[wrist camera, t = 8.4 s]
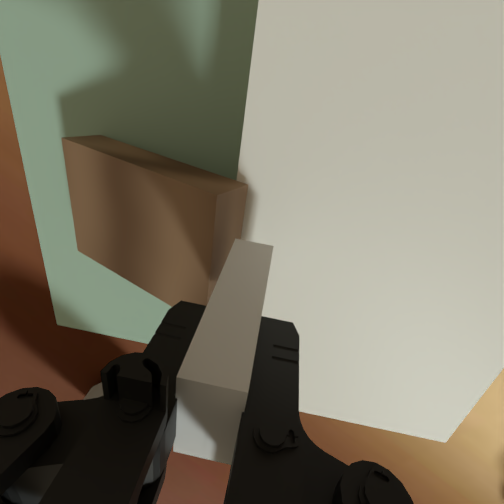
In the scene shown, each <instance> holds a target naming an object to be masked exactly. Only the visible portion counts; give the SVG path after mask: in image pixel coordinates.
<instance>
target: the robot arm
mask: <svg viewBox="0 0 504 504" xmlns="http://www.w3.org/2000/svg"><path fill="white" fill-rule="evenodd" d="M273 247H274V246H272V245H266V244H261V243H256V242H251V241H246V240H241V239H236V238H235V241H234V243H233V245H232V248H231V250H230V253H229V255H228V257H227V260H226V262H225V264H224V267H223V269H222V271H221V274H220V276H219V278H218V281H217V283H216V285H215V288H214V290H213V292H212V295H211V297H210V299H209V302H208V304H207V306H205V305H201V304H196V303H191V302H186V301H180V302H178V303H177V304H176V305H174V306H173V307H171V308H170V309H169V310H168V311H167V313H166V315H165V316H164V318H163V320H162V321H161V324H160V325H159V327H158V328H157V330H156V332H155V335H153V337H152V338H151V340H150V342H149V344H148V345H147V347H146V349H145V350H144V352H143V353H136V352H135V353H131V354H126V355H122V356H120V357H118V358H116V359H115V360H113V361H111V362H109V363H108V364H107V365H106V366H105V367H104V368H103V369H102V370H101V371H100V373H101V380H102V388H103V396H101V397H98V398H92V399H86V400H74V401H63V402H57V400H56V397H55V396H54V395H53V394H52V393H51V392H50V391H49V390H46V389H42V388H39V387H33V388H22V389H19V390H16V391H13V392H11V393H8V394H6V395H4V396H3V397H1V398H0V504H156V502H157V499H158V497H159V494H160V491H161V488H162V485H163V482H164V479H165V473H166V465H167V460H168V457H169V454H170V451H171V449H172V446H173V443H174V447H173V451H174V452H179V453H183V454H187V455H191V456H196V457H200V458H204V459H209V460H213V461H217V462H221V463H226V464H230V465H231V469H230V475H229V480H228V485H227V490H226V495H225V499H224V504H414V503H413V501H412V499H411V497H410V495H409V494H408V492H407V491H406V489H405V487H404V486H403V484H402V483H401V482H400V481H399V480H398V479H397V478H396V477H395V476H394V475H393V474H392V473H391V472H390V471H389V470H388V469H386V468H384V467H382V466H381V465H379V464H377V463H375V462H369V461H364V460H362V461H358V462H355V463H351V465H350V466H348V465H346V464H344V463H343V462H341V461H339V460H338V459H336V458H334V457H333V456H331V455H329V454H327V453H326V452H324V451H323V450H322V449H320V448H319V447H317V446H316V445H315V444H314V443H313V442H312V441H311V440H310V438H309V437H308V436H307V434H306V433H305V431H304V429H303V427H302V424H301V422H300V417H299V334H298V332H297V330H296V328H295V326H294V324H293V322H288V321H283V320H278V319H273V318H269V317H264V316H262V310H263V305H264V299H265V293H266V287H267V281H268V276H269V270H270V264H271V258H272V253H273Z"/></svg>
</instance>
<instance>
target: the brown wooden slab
mask: <svg viewBox="0 0 504 504" xmlns="http://www.w3.org/2000/svg"><path fill="white" fill-rule="evenodd" d="M61 139H62V146H63V153H64V160H65V167H66V174H67V181H68V187H69V194H70V201H71V208H72V215H73V222H74V229H75V236H76V243H77V249H78V251H79V252H81V253H82V254H84V255H86V256H87V257H89V258H91V259H92V260H94V261H96V262H97V263H99V264H101V265H103V266H104V267H106V268H108V269H109V270H111V271H113V272H114V273H116V274H118V275H119V276H121V277H123V278H124V279H126V280H128V281H129V282H131V283H133V284H134V285H136V286H138V287H139V288H141V289H143V290H145V291H146V292H148V293H150V294H151V295H153V296H155V297H156V298H158V299H160V300H161V301H163V302H165V303H166V304H168V305H170V306H171V307H173V306H174V305H176V304H177V303H178V302H180V301H186V302H191V303H196V304H201V305H205V306H207V304H208V302H209V299H210V297H211V295H212V292H213V290H214V288H215V285H216V283H217V281H218V278H219V276H220V274H221V271H222V269H223V267H224V264H225V262H226V260H227V257H228V255H229V253H230V250H231V248H232V245H233V243H234V241H235V238H236V239H241V233H242V226H243V219H244V212H245V205H246V198H247V191H248V184H245V183H242V182H239V181H236V180H233V179H230V178H227V177H224V176H221V175H218V174H215V173H212V172H209V171H206V170H203V169H200V168H197V167H194V166H191V165H188V164H186V163H183V162H180V161H177V160H174V159H171V158H168V157H165V156H162V155H159V154H156V153H153V152H150V151H147V150H144V149H141V148H138V147H135V146H132V145H129V144H126V143H123V142H120V141H117V140H114V139H111V138H108V137H105V136H102V135H91V136H76V137H62V138H61Z"/></svg>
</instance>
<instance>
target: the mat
mask: <svg viewBox="0 0 504 504" xmlns="http://www.w3.org/2000/svg"><path fill="white" fill-rule="evenodd" d="M258 2H259V0H0V55H1V60H2V64H3V69H4V74H5V79H6V84H7V88H8V93H9V98H10V103H11V107H12V112H13V117H14V122H15V127H16V131H17V136H18V141H19V146H20V150H21V155H22V160H23V165H24V169H25V174H26V179H27V184H28V189H29V193H30V198H31V203H32V208H33V212H34V217H35V222H36V227H37V232H38V236H39V241H40V246H41V251H42V255H43V260H44V265H45V270H46V275H47V279H48V284H49V289H50V294H51V298H52V303H53V308H54V313H55V318H56V322H57V325H61V326H66V327H70V328H75V329H80V330H85V331H90V332H94V333H99V334H104V335H109V336H113V337H118V338H123V339H128V340H133V341H137V342H142V343H147V344H149V342H150V340H151V338H152V337H153V335H155V332H156V330H157V328H158V327H159V325H160V324H161V321H162V320H163V318H164V316H165V315H166V313H167V311H168V310H169V309H170V308H171V306H170V305H168V304H166V303H165V302H163V301H161V300H160V299H158V298H156V297H155V296H153V295H151V294H150V293H148V292H146V291H145V290H143V289H141V288H139V287H138V286H136V285H134V284H133V283H131V282H129V281H128V280H126V279H124V278H123V277H121V276H119V275H118V274H116V273H114V272H113V271H111V270H109V269H108V268H106V267H104V266H103V265H101V264H99V263H97V262H96V261H94V260H92V259H91V258H89V257H87V256H86V255H84V254H82V253H81V252H79V251H78V249H77V243H76V236H75V229H74V222H73V215H72V208H71V201H70V194H69V187H68V181H67V174H66V167H65V160H64V153H63V146H62V139H61V138H62V137H76V136H91V135H102V136H105V137H108V138H111V139H114V140H117V141H120V142H123V143H126V144H129V145H132V146H135V147H138V148H141V149H144V150H147V151H150V152H153V153H156V154H159V155H162V156H165V157H168V158H171V159H174V160H177V161H180V162H183V163H186V164H188V165H191V166H194V167H197V168H200V169H203V170H206V171H209V172H212V173H215V174H218V175H221V176H224V177H227V178H230V179H233V180H237V172H238V164H239V156H240V148H241V140H242V131H243V123H244V115H245V107H246V99H247V91H248V83H249V75H250V67H251V58H252V50H253V42H254V34H255V26H256V18H257V10H258Z"/></svg>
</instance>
